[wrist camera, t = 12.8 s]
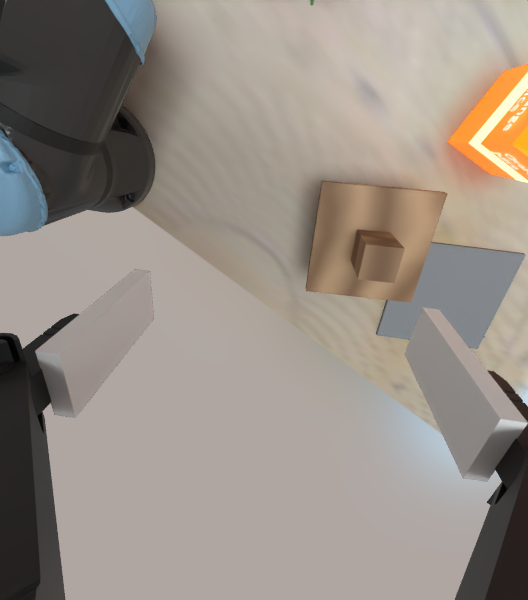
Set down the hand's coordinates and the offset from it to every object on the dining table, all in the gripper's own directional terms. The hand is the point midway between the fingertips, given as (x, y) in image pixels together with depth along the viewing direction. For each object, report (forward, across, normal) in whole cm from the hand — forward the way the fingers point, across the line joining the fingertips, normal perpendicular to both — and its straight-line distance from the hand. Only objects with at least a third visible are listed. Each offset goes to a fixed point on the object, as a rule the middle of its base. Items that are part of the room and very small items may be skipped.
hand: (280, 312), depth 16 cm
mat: (+35, +26, -13) cm, 45 cm away
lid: (+27, +10, -4) cm, 29 cm away
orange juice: (+35, +24, +11) cm, 44 cm away
